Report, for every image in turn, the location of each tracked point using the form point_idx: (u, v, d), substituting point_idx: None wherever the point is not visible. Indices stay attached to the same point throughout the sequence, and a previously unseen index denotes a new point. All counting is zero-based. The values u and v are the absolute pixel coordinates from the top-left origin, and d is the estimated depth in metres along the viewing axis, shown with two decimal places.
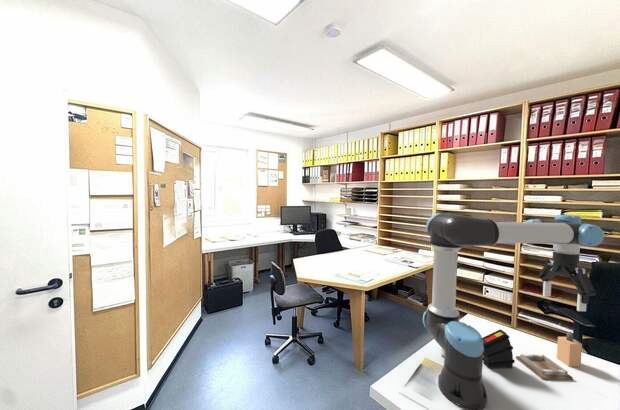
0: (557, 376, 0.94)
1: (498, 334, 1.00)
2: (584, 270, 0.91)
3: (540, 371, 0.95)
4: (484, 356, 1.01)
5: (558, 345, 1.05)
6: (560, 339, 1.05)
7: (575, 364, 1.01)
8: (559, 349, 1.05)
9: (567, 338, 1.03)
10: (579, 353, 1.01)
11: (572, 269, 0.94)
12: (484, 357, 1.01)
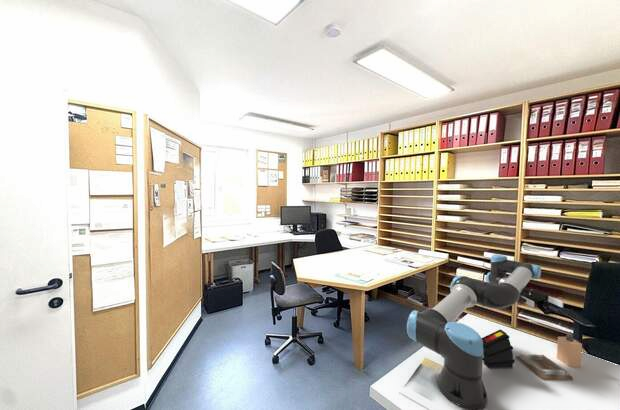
0: (557, 376, 0.94)
1: (498, 334, 1.00)
2: None
3: (540, 371, 0.95)
4: (484, 356, 1.01)
5: (558, 345, 1.05)
6: (560, 339, 1.05)
7: (575, 364, 1.01)
8: (559, 349, 1.05)
9: (567, 338, 1.03)
10: (579, 353, 1.01)
11: None
12: (484, 357, 1.01)
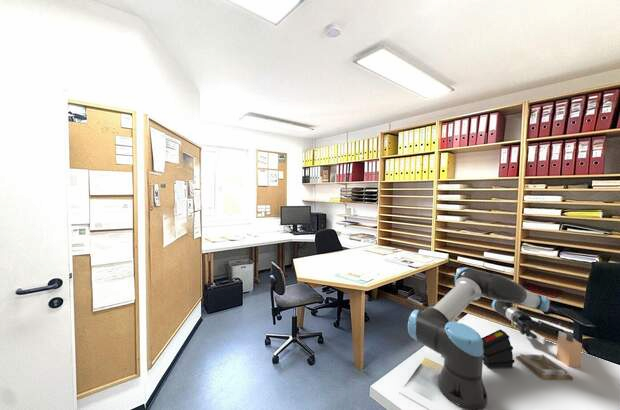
0: (557, 376, 0.94)
1: (498, 334, 1.00)
2: None
3: (540, 371, 0.95)
4: (484, 356, 1.01)
5: (558, 345, 1.05)
6: (560, 339, 1.05)
7: (575, 364, 1.01)
8: (559, 349, 1.05)
9: (567, 338, 1.03)
10: (579, 353, 1.01)
11: None
12: (484, 357, 1.01)
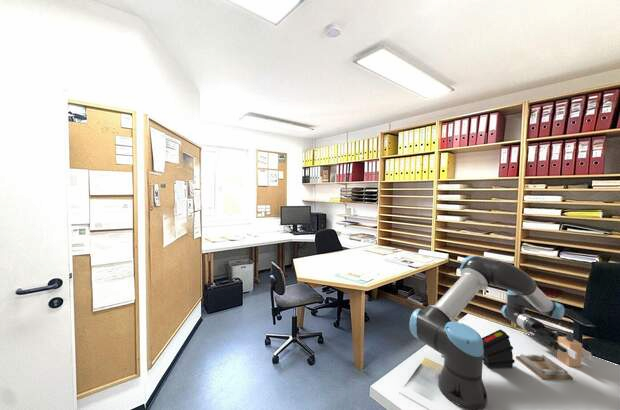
0: (557, 376, 0.94)
1: (498, 334, 1.00)
2: None
3: (540, 371, 0.95)
4: (484, 356, 1.01)
5: None
6: (560, 339, 1.05)
7: (575, 364, 1.01)
8: None
9: (567, 338, 1.03)
10: (579, 353, 1.01)
11: (550, 330, 1.15)
12: (484, 357, 1.01)
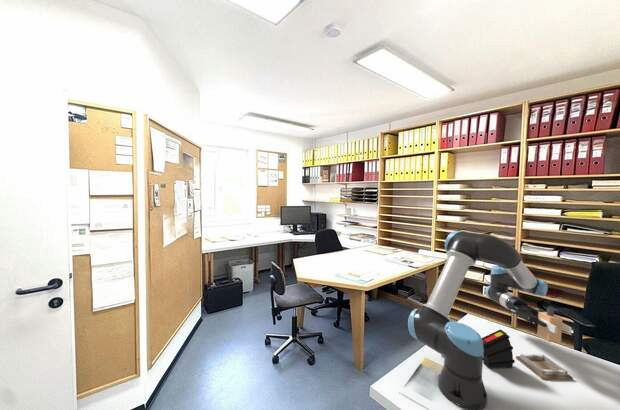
0: (557, 376, 0.94)
1: (498, 334, 1.00)
2: None
3: (540, 371, 0.95)
4: (484, 356, 1.01)
5: None
6: (540, 314, 1.01)
7: (555, 339, 0.98)
8: (540, 325, 1.01)
9: (547, 313, 1.00)
10: (559, 328, 0.97)
11: (532, 308, 1.11)
12: (484, 357, 1.01)
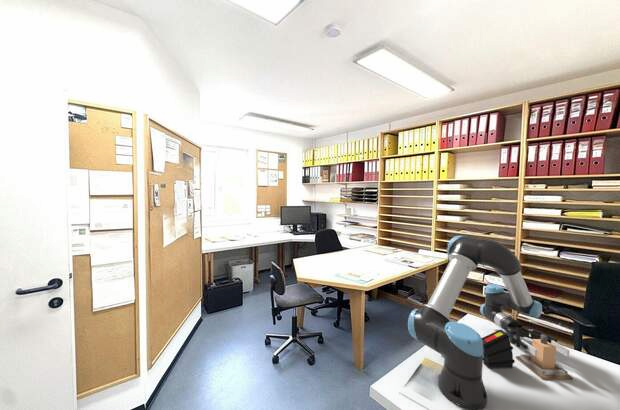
0: (557, 376, 0.94)
1: (498, 334, 1.00)
2: None
3: (540, 371, 0.95)
4: (484, 356, 1.01)
5: None
6: (534, 342, 1.01)
7: (549, 368, 0.97)
8: None
9: (541, 341, 0.99)
10: (553, 356, 0.97)
11: (527, 329, 1.11)
12: (484, 357, 1.01)
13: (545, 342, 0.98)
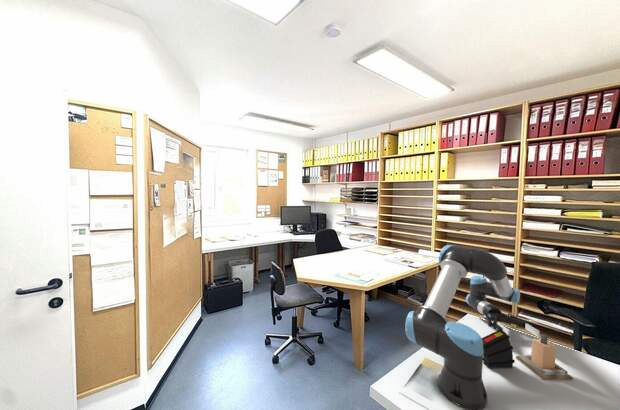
0: (557, 376, 0.94)
1: (498, 334, 1.00)
2: None
3: (540, 371, 0.95)
4: (484, 356, 1.01)
5: (532, 348, 1.02)
6: (534, 342, 1.01)
7: (549, 368, 0.97)
8: (534, 352, 1.01)
9: (541, 341, 0.99)
10: (553, 356, 0.97)
11: (505, 315, 1.24)
12: (484, 357, 1.01)
13: (545, 342, 0.98)
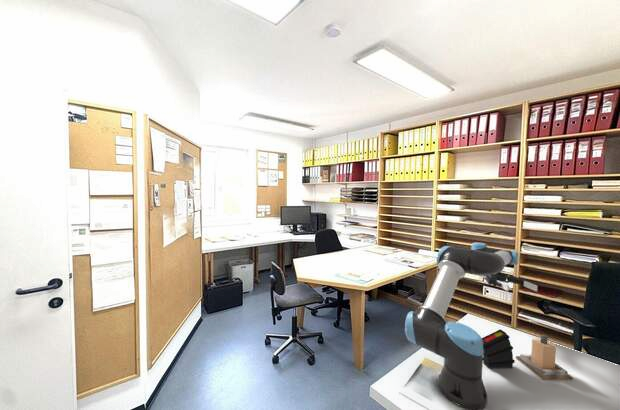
0: (557, 376, 0.94)
1: (498, 334, 1.00)
2: None
3: (540, 371, 0.95)
4: (484, 356, 1.01)
5: (532, 348, 1.02)
6: (534, 342, 1.01)
7: (549, 368, 0.97)
8: (534, 352, 1.01)
9: (541, 341, 0.99)
10: (553, 356, 0.97)
11: None
12: (484, 357, 1.01)
13: (545, 342, 0.98)
